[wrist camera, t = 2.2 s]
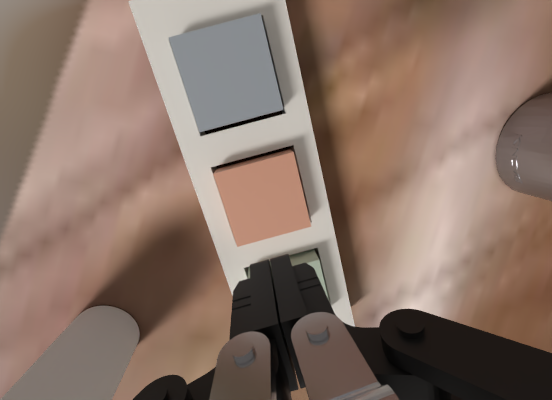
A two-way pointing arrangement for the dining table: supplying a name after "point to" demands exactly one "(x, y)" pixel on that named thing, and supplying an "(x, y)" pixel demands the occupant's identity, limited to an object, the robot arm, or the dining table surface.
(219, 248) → the button panel
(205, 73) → the grey button
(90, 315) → the mug
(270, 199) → the terracotta button
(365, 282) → the dining table surface
